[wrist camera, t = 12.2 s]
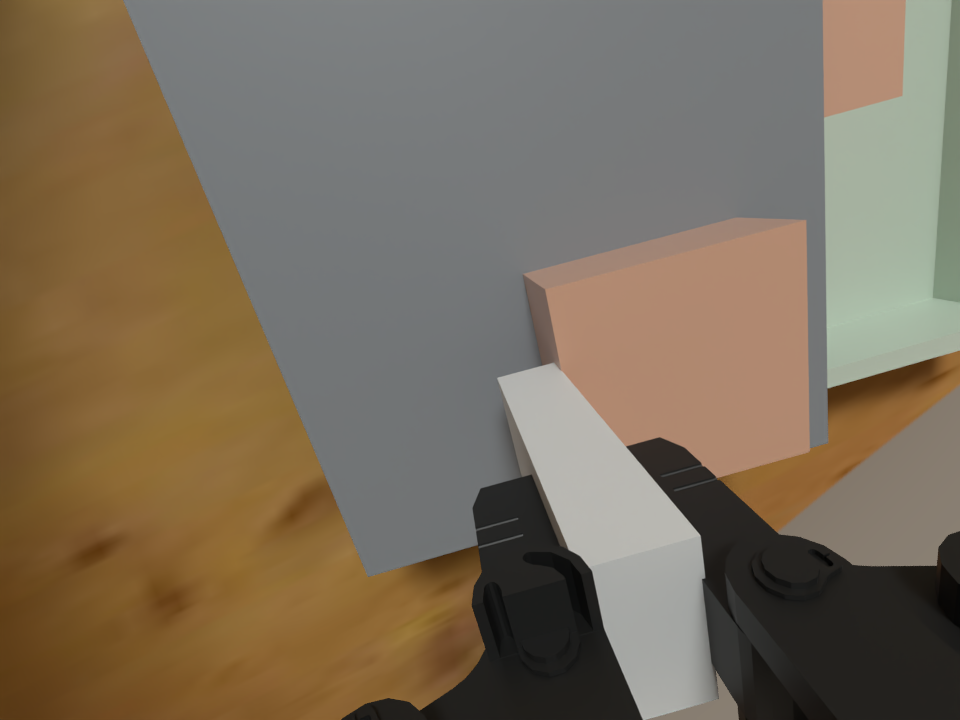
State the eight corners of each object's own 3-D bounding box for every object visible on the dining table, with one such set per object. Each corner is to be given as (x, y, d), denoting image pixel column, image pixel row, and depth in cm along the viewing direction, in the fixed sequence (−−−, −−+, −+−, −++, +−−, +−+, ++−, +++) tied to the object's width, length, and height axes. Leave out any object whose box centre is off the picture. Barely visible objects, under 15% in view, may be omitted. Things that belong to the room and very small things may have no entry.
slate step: (216, 11, 16) (68, -129, 9) (658, -103, 16) (818, -315, 10) (385, 464, 22) (368, 577, 15) (707, 372, 22) (827, 443, 15)
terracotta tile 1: (808, -165, 11) (912, -193, 11) (675, -37, 16) (744, -55, 16) (814, 120, 13) (902, 96, 13) (693, 146, 18) (755, 130, 18)
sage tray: (658, -103, 16) (728, -197, 12) (972, -185, 17) (1134, -300, 13) (707, 372, 22) (765, 406, 18) (938, 305, 22) (1043, 326, 19)
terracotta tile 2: (522, 273, 13) (545, 289, 10) (736, 217, 13) (806, 219, 10) (563, 463, 15) (589, 513, 12) (748, 412, 15) (809, 452, 12)
